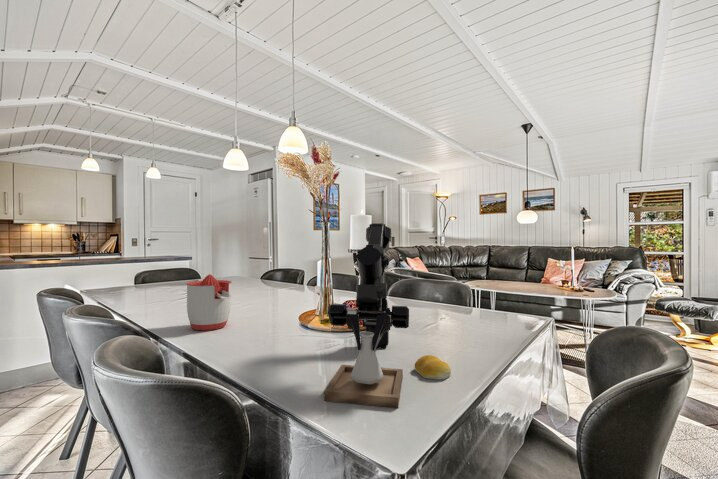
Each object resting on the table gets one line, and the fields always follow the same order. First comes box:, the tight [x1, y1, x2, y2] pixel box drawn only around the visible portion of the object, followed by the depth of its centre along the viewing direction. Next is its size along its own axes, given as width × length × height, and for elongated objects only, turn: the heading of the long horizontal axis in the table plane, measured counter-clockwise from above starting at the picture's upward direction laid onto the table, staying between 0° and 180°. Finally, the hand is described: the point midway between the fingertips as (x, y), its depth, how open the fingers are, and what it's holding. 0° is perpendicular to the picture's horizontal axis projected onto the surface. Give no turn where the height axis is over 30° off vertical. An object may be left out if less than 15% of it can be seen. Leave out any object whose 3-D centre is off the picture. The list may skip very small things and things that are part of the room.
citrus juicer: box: [186, 274, 232, 332], centre depth 126 cm, size 16×17×20 cm
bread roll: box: [414, 354, 452, 381], centre depth 83 cm, size 8×9×4 cm
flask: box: [350, 330, 383, 384], centre depth 74 cm, size 7×7×10 cm
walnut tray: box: [323, 364, 404, 409], centre depth 74 cm, size 15×15×2 cm
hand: (366, 349), depth 73 cm, fingers closed on flask, 3 cm apart
